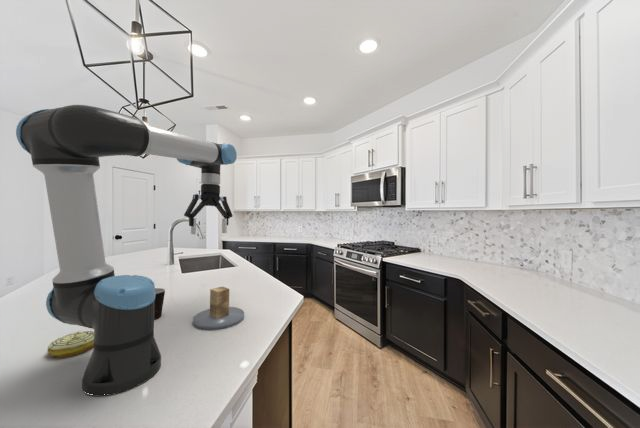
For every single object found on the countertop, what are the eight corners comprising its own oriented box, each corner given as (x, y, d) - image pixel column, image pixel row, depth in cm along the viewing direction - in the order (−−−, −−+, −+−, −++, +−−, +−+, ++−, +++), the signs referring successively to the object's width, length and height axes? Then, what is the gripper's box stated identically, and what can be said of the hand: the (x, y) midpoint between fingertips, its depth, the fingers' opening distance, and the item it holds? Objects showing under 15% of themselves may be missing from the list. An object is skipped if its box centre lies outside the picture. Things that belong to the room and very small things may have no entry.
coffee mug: (169, 313, 98) (170, 288, 98) (152, 323, 89) (153, 295, 90) (142, 312, 99) (143, 287, 99) (123, 321, 91) (124, 293, 91)
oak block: (216, 319, 90) (216, 291, 90) (209, 315, 93) (210, 289, 94) (228, 315, 94) (229, 289, 94) (222, 311, 97) (222, 286, 97)
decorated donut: (104, 337, 79) (104, 326, 79) (90, 354, 69) (91, 341, 69) (59, 344, 74) (60, 331, 74) (39, 363, 65) (39, 349, 65)
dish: (207, 335, 81) (208, 330, 81) (184, 320, 92) (184, 316, 92) (253, 318, 95) (253, 314, 95) (228, 307, 106) (228, 303, 106)
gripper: (232, 187, 118) (231, 232, 118) (175, 181, 99) (174, 234, 99) (241, 186, 114) (240, 232, 113) (183, 179, 94) (182, 235, 94)
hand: (209, 233), depth 106 cm, fingers open, 13 cm apart
